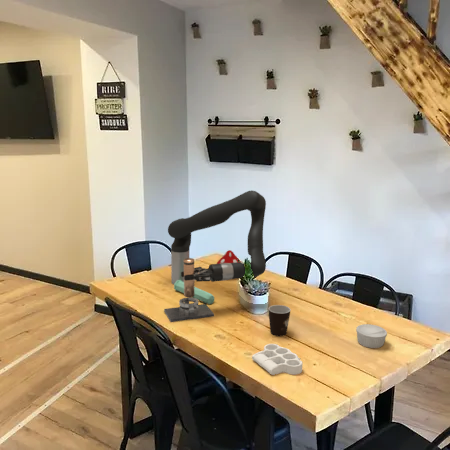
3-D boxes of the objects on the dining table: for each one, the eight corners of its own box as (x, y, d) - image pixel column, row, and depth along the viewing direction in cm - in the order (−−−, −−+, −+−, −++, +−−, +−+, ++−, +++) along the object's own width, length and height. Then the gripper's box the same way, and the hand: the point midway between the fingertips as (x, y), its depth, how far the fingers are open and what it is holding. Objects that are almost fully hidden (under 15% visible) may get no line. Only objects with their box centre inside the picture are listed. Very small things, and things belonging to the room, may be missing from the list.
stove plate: (164, 311, 208) (164, 298, 207) (205, 306, 215) (205, 293, 214) (170, 322, 197) (170, 308, 196) (214, 316, 204) (214, 303, 202)
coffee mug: (275, 339, 183) (276, 314, 181) (263, 330, 191) (264, 307, 189) (300, 333, 188) (301, 309, 186) (287, 325, 196) (288, 302, 194)
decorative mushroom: (210, 276, 257) (210, 249, 253) (229, 271, 266) (229, 245, 263) (228, 283, 246) (229, 255, 243) (247, 277, 256) (248, 250, 252)
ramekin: (381, 352, 174) (382, 339, 173) (351, 345, 180) (352, 331, 179) (389, 341, 183) (390, 328, 182) (360, 334, 189) (361, 321, 188)
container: (214, 291, 217) (181, 277, 235) (205, 298, 214) (172, 284, 232) (218, 301, 220) (184, 286, 238) (209, 309, 217) (175, 293, 234)
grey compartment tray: (246, 358, 169) (280, 349, 176) (276, 381, 154) (312, 370, 161) (247, 349, 169) (280, 340, 176) (276, 372, 153) (312, 361, 160)
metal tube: (182, 294, 206) (182, 258, 202) (193, 293, 207) (192, 257, 204) (185, 298, 201) (185, 261, 198) (196, 296, 203) (195, 260, 200)
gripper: (215, 259, 213) (178, 263, 207) (226, 268, 200) (187, 272, 194) (215, 275, 215) (178, 279, 209) (226, 285, 201) (187, 290, 196)
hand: (183, 276), depth 202 cm, fingers closed on metal tube, 4 cm apart
